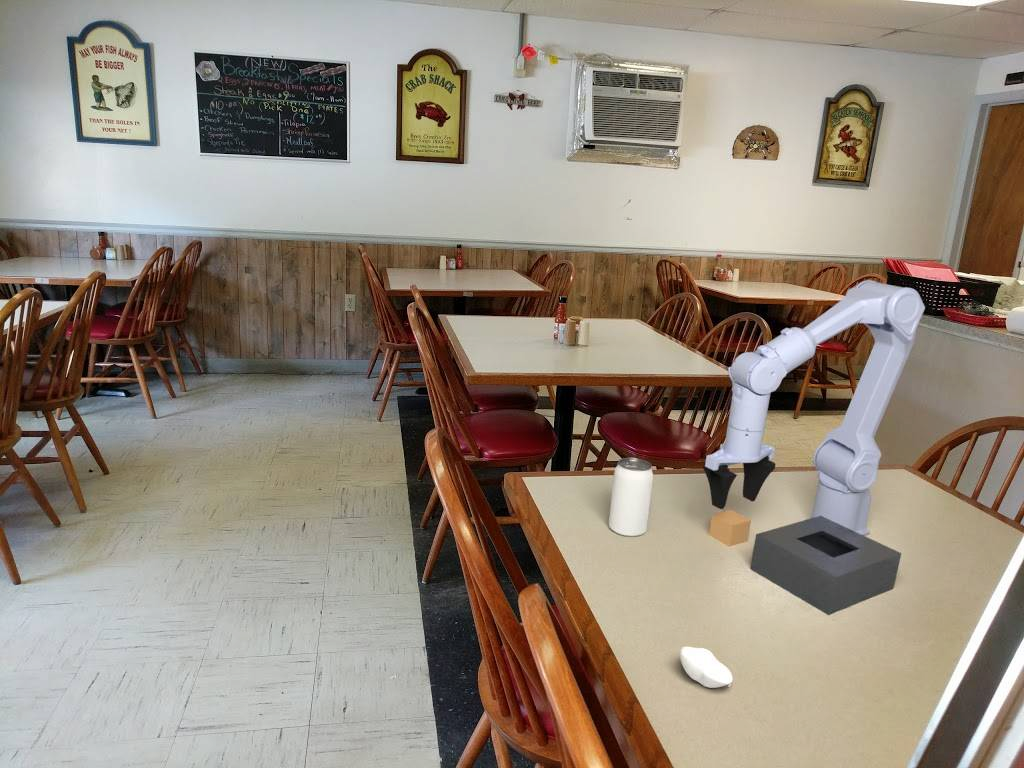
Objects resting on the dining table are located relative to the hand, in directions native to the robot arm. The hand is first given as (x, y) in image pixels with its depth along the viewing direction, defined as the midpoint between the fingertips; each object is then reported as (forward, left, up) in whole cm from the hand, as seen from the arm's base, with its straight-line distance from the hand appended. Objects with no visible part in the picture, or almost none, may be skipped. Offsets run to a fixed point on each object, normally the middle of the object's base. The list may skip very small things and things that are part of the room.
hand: (733, 502), depth 122 cm
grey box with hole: (-3, +16, -7) cm, 18 cm away
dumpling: (+32, +25, -7) cm, 41 cm away
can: (+14, -10, -7) cm, 18 cm away
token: (0, 0, -7) cm, 7 cm away
